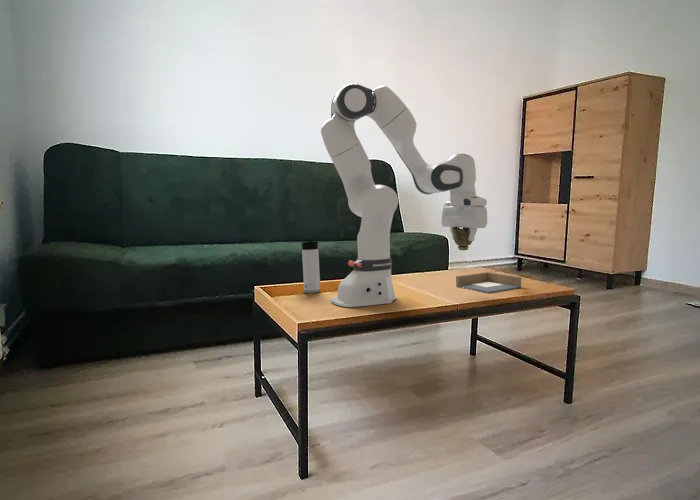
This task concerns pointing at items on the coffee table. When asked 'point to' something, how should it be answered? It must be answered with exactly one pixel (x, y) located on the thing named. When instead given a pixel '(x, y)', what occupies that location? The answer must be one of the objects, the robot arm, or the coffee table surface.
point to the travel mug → (311, 267)
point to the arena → (488, 282)
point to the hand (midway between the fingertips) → (463, 240)
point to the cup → (462, 238)
